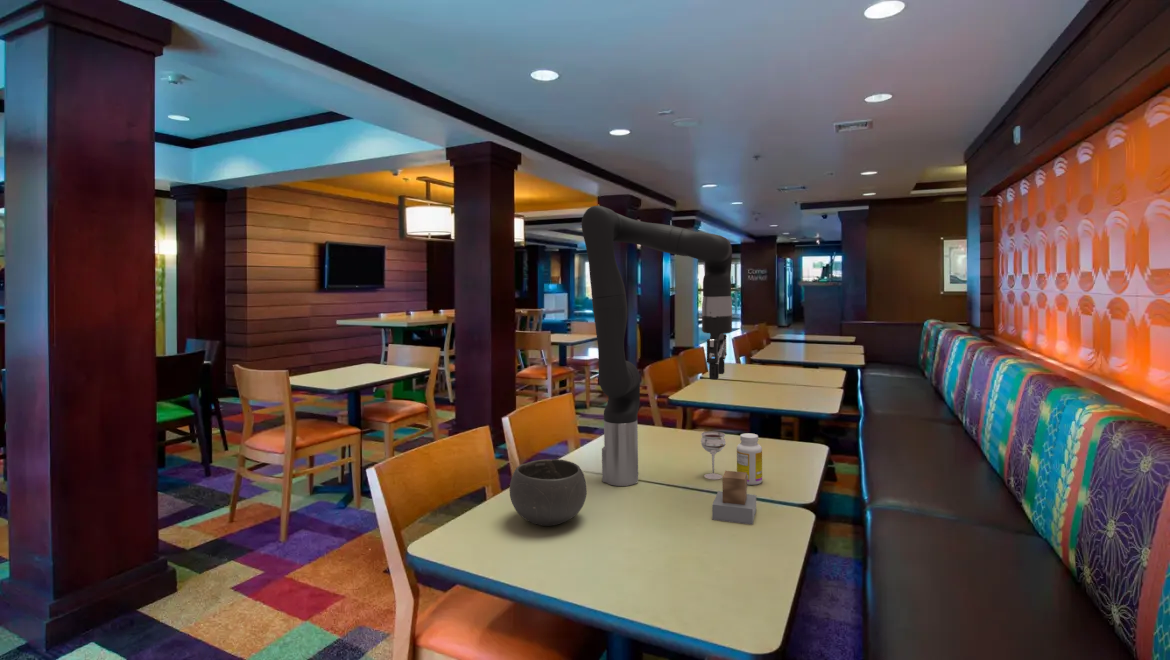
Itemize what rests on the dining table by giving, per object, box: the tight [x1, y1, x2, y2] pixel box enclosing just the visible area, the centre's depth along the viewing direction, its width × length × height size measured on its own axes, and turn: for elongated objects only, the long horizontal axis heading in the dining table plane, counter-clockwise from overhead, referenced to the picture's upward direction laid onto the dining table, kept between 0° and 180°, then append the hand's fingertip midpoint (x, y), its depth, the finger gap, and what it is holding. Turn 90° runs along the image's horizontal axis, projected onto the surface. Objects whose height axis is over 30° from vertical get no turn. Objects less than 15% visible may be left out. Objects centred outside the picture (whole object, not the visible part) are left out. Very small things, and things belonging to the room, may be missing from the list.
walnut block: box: [722, 470, 748, 505], centre depth 140 cm, size 5×5×6 cm
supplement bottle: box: [736, 432, 763, 486], centre depth 162 cm, size 7×7×13 cm
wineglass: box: [700, 430, 727, 480], centre depth 167 cm, size 7×7×12 cm
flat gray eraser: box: [711, 490, 757, 526], centre depth 140 cm, size 9×9×4 cm
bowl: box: [509, 458, 588, 527], centre depth 139 cm, size 18×18×13 cm
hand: (717, 376), depth 154 cm, fingers open, 8 cm apart
